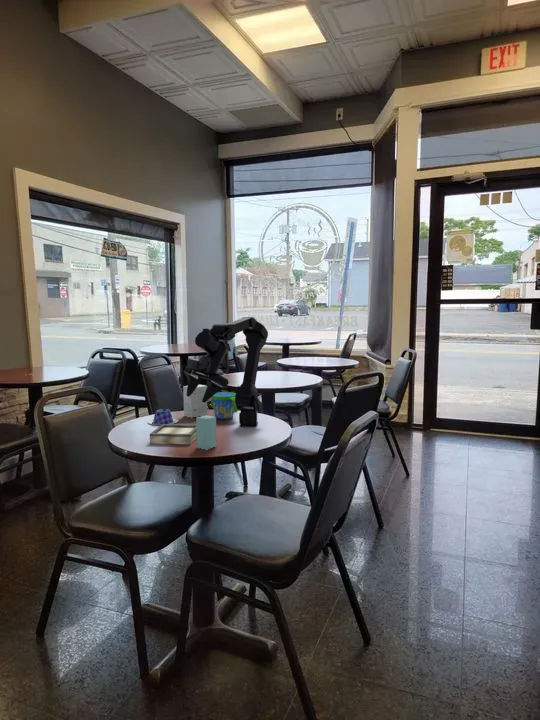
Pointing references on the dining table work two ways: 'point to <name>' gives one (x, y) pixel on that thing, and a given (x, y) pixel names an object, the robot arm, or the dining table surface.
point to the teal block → (206, 432)
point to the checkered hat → (163, 417)
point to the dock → (173, 434)
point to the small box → (195, 402)
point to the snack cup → (224, 405)
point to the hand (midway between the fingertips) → (195, 399)
